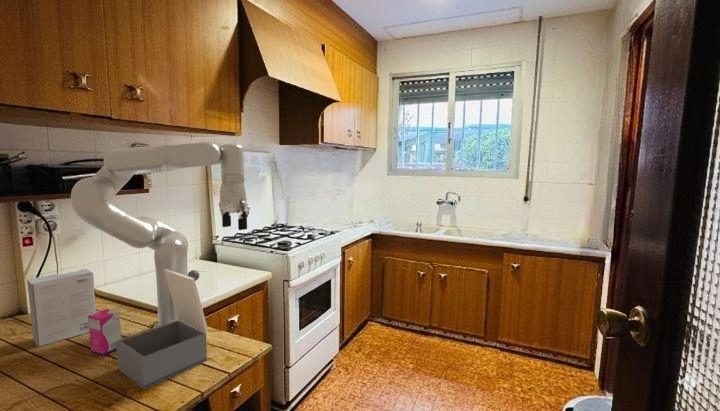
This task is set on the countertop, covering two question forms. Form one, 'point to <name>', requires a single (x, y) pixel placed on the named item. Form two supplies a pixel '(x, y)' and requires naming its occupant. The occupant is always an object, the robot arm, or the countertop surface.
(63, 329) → the hard drive box
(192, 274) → the flap
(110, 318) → the supplement box
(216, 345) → the countertop surface
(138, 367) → the grey storage box
